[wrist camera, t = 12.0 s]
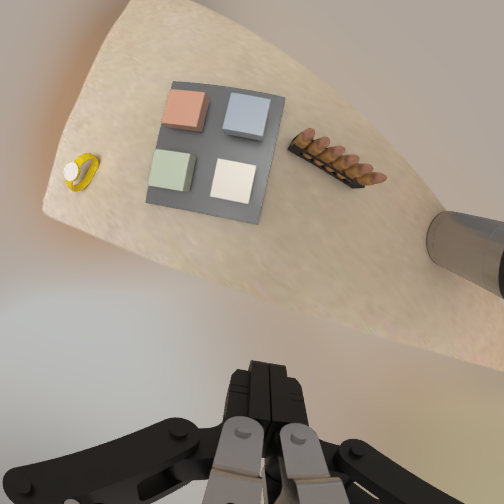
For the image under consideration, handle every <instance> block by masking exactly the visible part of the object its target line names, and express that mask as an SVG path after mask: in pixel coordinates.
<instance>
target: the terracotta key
mask: <svg viewBox="0 0 504 504" xmlns="http://www.w3.org/2000/svg"><path fill="white" fill-rule="evenodd" d="M209 102H210V100H209V98H208V97H207V95H206V93H205V92H197V91H186V90H174V89H170V92H169V95H168V99H167V102H166V106H165V110H164V114H163V118H162V122H161V123H162V124H164V125H166V126H167V127H169V128H173V129H181V130H189V131H197V132H202V130H203V126H204V122H205V118H206V114H207V110H208V106H209Z"/></svg>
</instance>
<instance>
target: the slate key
mask: <svg viewBox="0 0 504 504" xmlns="http://www.w3.org/2000/svg"><path fill="white" fill-rule="evenodd" d="M270 102H271V99H266V98H261V97H255V96H250V95H244V94H238V93H231V96H230V100H229V104H228V108H227V112H226V116H225V120H224V124H223V128H222V129H223V130H224V132H225V134H227V135H233V136H238V137H244V138H249V139H254V140H259V141H262V140H263V135H264V131H265V126H266V122H267V118H268V113H269V109H270Z"/></svg>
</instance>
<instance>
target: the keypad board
mask: <svg viewBox="0 0 504 504" xmlns="http://www.w3.org/2000/svg"><path fill="white" fill-rule="evenodd" d="M171 89H174V90H186V91H197V92H205V93H206V95H207V97H208V98H209V100H210V102H209V106H208V110H207V114H206V118H205V122H204V126H203V130H202V132H197V131H189V130H181V129H173V128H169V127H167V126H166V125H164V124H161V128H160V132H159V136H158V141H157V145H156V149H160V150H167V151H174V152H181V153H188V154H192V155H194V156H196V161H195V166H194V171H193V176H192V181H191V186H190V191H178V190H173V189H167V188H161V187H155V186H149V185H148V191H147V197H146V203H151V204H156V205H162V206H167V207H172V208H177V209H183V210H188V211H193V212H198V213H203V214H208V215H213V216H218V217H223V218H228V219H232V220H237V221H242V222H247V223H251V224H256V225H258V221H259V217H260V212H261V208H262V203H263V198H264V194H265V189H266V185H267V180H268V175H269V171H270V166H271V162H272V157H273V152H274V148H275V143H276V139H277V134H278V129H279V125H280V120H281V116H282V111H283V106H284V102H285V97H281V96H277V95H272V94H267V93H262V92H256V91H251V90H245V89H239V88H232V87H225V86H217V85H209V84H200V83H189V82H176V81H173V83H172V86H171ZM231 93H238V94H244V95H250V96H255V97H261V98H266V99H271V102H270V109H269V113H268V118H267V122H266V126H265V131H264V135H263V140H262V141H259V140H254V139H249V138H244V137H238V136H233V135H227V134H225V132H224V130H223V129H222V128H223V124H224V120H225V116H226V112H227V108H228V104H229V100H230V96H231ZM218 159H224V160H229V161H235V162H240V163H245V164H250V165H255V166H256V167H257V169H256V173H255V178H254V183H253V187H252V192H251V197H250V201H249V204H245V203H241V202H236V201H231V200H226V199H221V198H216V197H211V196H210V193H211V188H212V183H213V179H214V174H215V169H216V164H217V160H218Z"/></svg>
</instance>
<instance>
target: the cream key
mask: <svg viewBox="0 0 504 504" xmlns="http://www.w3.org/2000/svg"><path fill="white" fill-rule="evenodd" d="M256 169H257V167H256V166H255V165H250V164H245V163H240V162H235V161H229V160H224V159H218V160H217V164H216V169H215V174H214V179H213V183H212V188H211V193H210V196H211V197H216V198H221V199H226V200H231V201H236V202H241V203H245V204H249V201H250V197H251V192H252V187H253V183H254V178H255V173H256Z"/></svg>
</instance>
